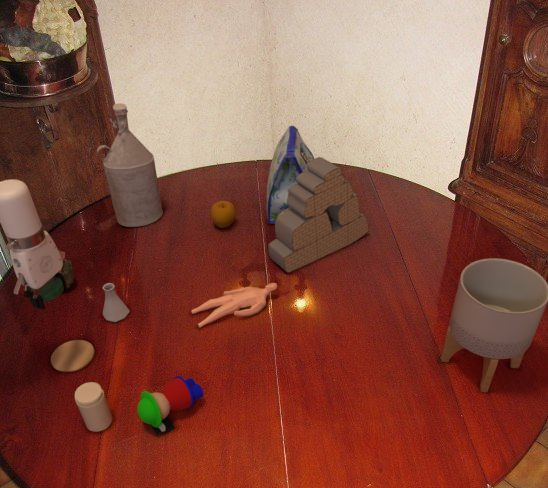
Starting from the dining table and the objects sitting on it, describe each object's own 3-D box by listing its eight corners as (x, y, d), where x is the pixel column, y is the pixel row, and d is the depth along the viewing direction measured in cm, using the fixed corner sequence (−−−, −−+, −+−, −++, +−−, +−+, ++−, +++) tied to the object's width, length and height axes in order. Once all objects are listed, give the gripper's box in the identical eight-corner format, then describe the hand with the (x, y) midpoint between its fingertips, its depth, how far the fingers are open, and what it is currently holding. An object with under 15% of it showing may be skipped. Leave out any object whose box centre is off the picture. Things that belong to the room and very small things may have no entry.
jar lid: (66, 279, 134) (64, 274, 133) (61, 299, 129) (59, 293, 128) (35, 282, 134) (33, 277, 132) (29, 302, 128) (27, 297, 127)
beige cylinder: (83, 433, 128) (71, 404, 121) (87, 411, 133) (75, 383, 126) (111, 430, 129) (100, 401, 122) (113, 408, 133) (103, 379, 126)
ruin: (347, 219, 189) (346, 138, 168) (368, 233, 183) (370, 151, 162) (266, 262, 177) (255, 181, 156) (286, 279, 171) (276, 197, 150)
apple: (227, 235, 185) (225, 212, 179) (206, 228, 189) (203, 206, 183) (241, 222, 191) (239, 200, 185) (220, 216, 194) (218, 194, 188)
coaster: (47, 374, 142) (47, 373, 141) (55, 343, 150) (54, 342, 150) (92, 369, 143) (91, 368, 142) (96, 339, 151) (96, 337, 150)
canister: (110, 215, 196) (82, 104, 170) (158, 202, 202) (137, 93, 175) (119, 233, 188) (90, 120, 161) (168, 219, 193) (148, 108, 167)
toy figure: (186, 394, 139) (131, 419, 130) (184, 363, 134) (127, 387, 126) (206, 413, 133) (150, 441, 125) (206, 382, 128) (147, 409, 120)
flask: (115, 326, 154) (106, 298, 148) (98, 315, 158) (89, 288, 151) (134, 311, 159) (127, 284, 152) (117, 301, 162) (110, 274, 155)
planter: (443, 388, 135) (465, 309, 118) (437, 333, 149) (456, 255, 132) (524, 395, 133) (559, 316, 116) (511, 339, 147) (540, 260, 129)
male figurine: (187, 300, 156) (268, 270, 162) (190, 312, 160) (270, 283, 166) (198, 324, 149) (283, 292, 155) (202, 337, 152) (285, 305, 158)
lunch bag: (315, 226, 188) (317, 155, 171) (265, 226, 189) (262, 155, 171) (314, 191, 205) (316, 123, 187) (269, 191, 205) (266, 124, 188)
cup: (49, 295, 165) (41, 274, 159) (57, 279, 170) (50, 258, 165) (74, 295, 164) (67, 274, 159) (82, 279, 170) (75, 258, 165)
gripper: (11, 262, 114) (38, 325, 125) (65, 218, 125) (86, 279, 137) (-17, 255, 116) (12, 317, 128) (39, 211, 128) (61, 272, 140)
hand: (50, 297), depth 132 cm, fingers closed on jar lid, 7 cm apart
